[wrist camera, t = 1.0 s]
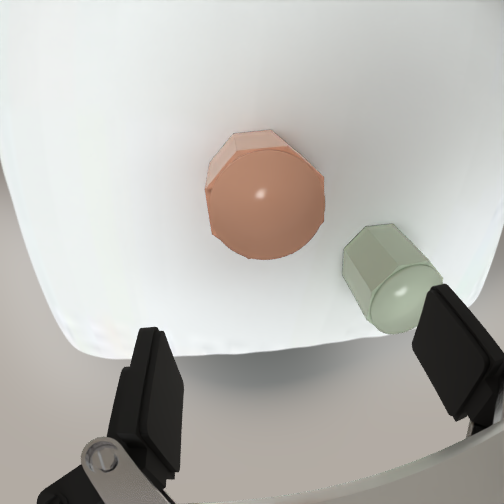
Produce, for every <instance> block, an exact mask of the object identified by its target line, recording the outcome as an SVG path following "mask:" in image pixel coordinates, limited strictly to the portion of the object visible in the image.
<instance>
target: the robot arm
mask: <svg viewBox="0 0 504 504" xmlns="http://www.w3.org/2000/svg"><path fill="white" fill-rule="evenodd" d="M412 348H413V351H414V353H415V355H416V356H417V358H418V360H419V362H420V363H421V365H422V367H423V368H424V370H425V372H426V374H427V375H428V377H429V379H430V381H431V383H432V384H433V386H434V388H435V390H436V391H437V393H438V395H439V397H440V399H441V401H442V403H443V405H444V406H445V408H446V410H447V412H448V414H449V415H450V416H453V418H454V419H455V421H458V420H461V419H463V418H465V417H467V415H468V417H469V418H470V422H469V427H468V431H467V436H466V439H464V440H462V441H460V442H458V443H456V444H454V445H452V446H449V447H447V448H445V449H443V450H441V451H438V452H436V453H434V454H431V455H429V456H426V457H424V458H421V459H419V460H416V461H414V462H411V463H408V464H406V465H404V466H400V467H397V468H395V469H392V470H389V471H385V472H383V473H379V474H376V475H373V476H370V477H366V478H363V479H359V480H355V481H352V482H348V483H344V484H340V485H336V486H332V487H327V488H323V489H318V490H313V491H308V492H303V493H297V494H291V495H284V496H277V497H271V498H262V499H252V500H242V501H230V502H214V503H191V504H504V353H503V351H502V350H501V349H500V347H499V346H498V345H497V343H496V342H495V341H494V340H493V338H492V337H491V336H490V334H489V333H488V332H487V331H486V329H485V328H484V327H483V326H482V324H481V323H480V322H479V321H478V320H477V318H476V317H475V316H474V315H473V314H472V312H471V311H470V310H469V309H468V308H467V306H466V305H465V304H464V303H463V302H462V301H461V299H460V298H459V297H458V296H457V295H456V294H455V293H454V291H453V290H452V289H451V288H450V287H449V286H448V285H447V284H440V285H436V286H432V287H431V288H430V291H428V292H427V295H426V298H425V302H424V306H423V309H422V313H421V316H420V319H419V323H418V326H417V329H416V332H415V336H414V338H413V341H412ZM183 394H184V385H183V380H182V377H181V375H180V372H179V370H178V368H177V365H176V362H175V360H174V357H173V354H172V352H171V349H170V346H169V344H168V341H167V338H166V336H165V333H164V331H159V330H158V328H157V327H149V328H140V329H139V332H138V336H137V340H136V344H135V348H134V352H133V356H132V360H131V364H130V367H124V368H123V369H122V372H121V375H120V379H119V383H118V387H117V391H116V396H115V400H114V404H113V409H112V414H111V418H110V423H109V428H108V433H107V437H99V438H96V439H93V440H91V441H90V442H89V443H88V444H86V446H85V447H84V449H83V451H82V454H81V465H79V466H78V467H77V468H75V469H74V470H72V471H71V472H69V473H68V474H66V475H65V476H63V477H62V478H60V479H59V480H57V481H56V482H55V483H53V484H51V485H50V486H49V487H47V488H45V489H44V490H43V491H42V492H41V493H40V494H39V496H38V499H37V504H177V503H176V502H175V501H174V500H173V499H172V498H171V497H170V495H169V494H168V493H167V492H166V491H165V490H164V488H165V487H166V479H175V472H179V470H180V453H181V452H180V451H181V429H182V411H183V410H182V409H183Z"/></svg>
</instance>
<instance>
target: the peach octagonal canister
mask: <svg viewBox="0 0 504 504" xmlns="http://www.w3.org/2000/svg"><path fill="white" fill-rule="evenodd" d="M205 193H206V200H207V206H208V213H209V219H210V225H211V231H212V235H214V236H215V237H217V238H218V239H220V240H221V241H222V242H223V243H224V244H225V245H226V246H227V247H228V248H230V249H231V250H232V251H234V252H236V253H238V254H240V255H242V256H245V257H246V258H248V259H251V258H252V259H259V260H270V259H277V258H281V257H284V256H287V255H289V254H293V253H294V252H296V251H297V250H299V249H300V248H302V247H303V246H304V245H305V244H307V243H308V242H309V241H310V240H311V238H312V237H313V236H314V235H315V233H316V232H317V230H318V228H319V226H320V225H321V224H322V223H323V222H324V211H325V195H324V177H323V176H322V175H321V174H320V173H319V172H318V171H317V170H316V169H315V168H314V167H313V166H312V165H311V164H310V163H309V162H308V161H307V160H306V159H305V158H304V157H303V156H302V155H301V154H300V153H298V152H297V151H296V150H295V149H293V148H292V147H291V146H290V145H289V144H288V143H286V142H285V141H284V140H283V139H282V138H280V137H279V136H278V135H277V134H276V133H274V132H273V131H272V130H264V131H253V132H243V133H233V135H232V136H231V137H230V138H229V139H228V141H227V142H226V143H225V144H224V145H223V147H222V148H221V149H220V150H219V152H218V153H217V154H216V155H215V156H214V158H213V159H212V160H211V161H210V163H209V169H208V174H207V180H206V185H205Z"/></svg>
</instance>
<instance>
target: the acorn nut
mask: <svg viewBox="0 0 504 504" xmlns="http://www.w3.org/2000/svg"><path fill="white" fill-rule="evenodd" d="M342 275H343V277H344V279H345V281H346V282H347V284H348V286H349V288H350V290H351V292H352V293H353V295H354V297H355V299H356V301H357V303H358V305H359V306H360V308H361V310H362V312H363V314H364V316H365V318H366V320H367V321H369V322H370V323H372V324H373V325H374V326H375V327H376V328H377V329H378V330H379V331H381V332H383V333H386V334H399V333H403V332H407V331H409V330H411V329H413V328H415V327H417V326H418V323H419V319H420V316H421V313H422V309H423V306H424V302H425V298H426V295H427V292H428V291H430V288H431V287H432V286H436V285H440V284H443V282H442V281H443V277H442V276H441V275H440V274H439V272H438V271H437V270H436V269H435V267H434V266H433V265H432V264H431V262H430V261H429V260H428V259H427V258H426V257H425V256H424V255H423V253H422V252H421V251H420V250H419V249H418V248H417V247H416V246H415V245H414V244H413V243H412V242H411V241H410V240H409V239H408V238H407V237H406V236H405V235H404V234H403V233H402V232H401V231H400V230H399V229H398V228H397V227H396V226H395V225H394V224H385V225H376V226H366V227H365V228H364V229H363V230H362V231H361V232H360V233H359V234H358V235H357V236H356V237H355V238H354V239H353V240H352V241H351V242H350V243H349V244H348V245H347V246H346V247H345V248H344V255H343V270H342Z"/></svg>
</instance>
